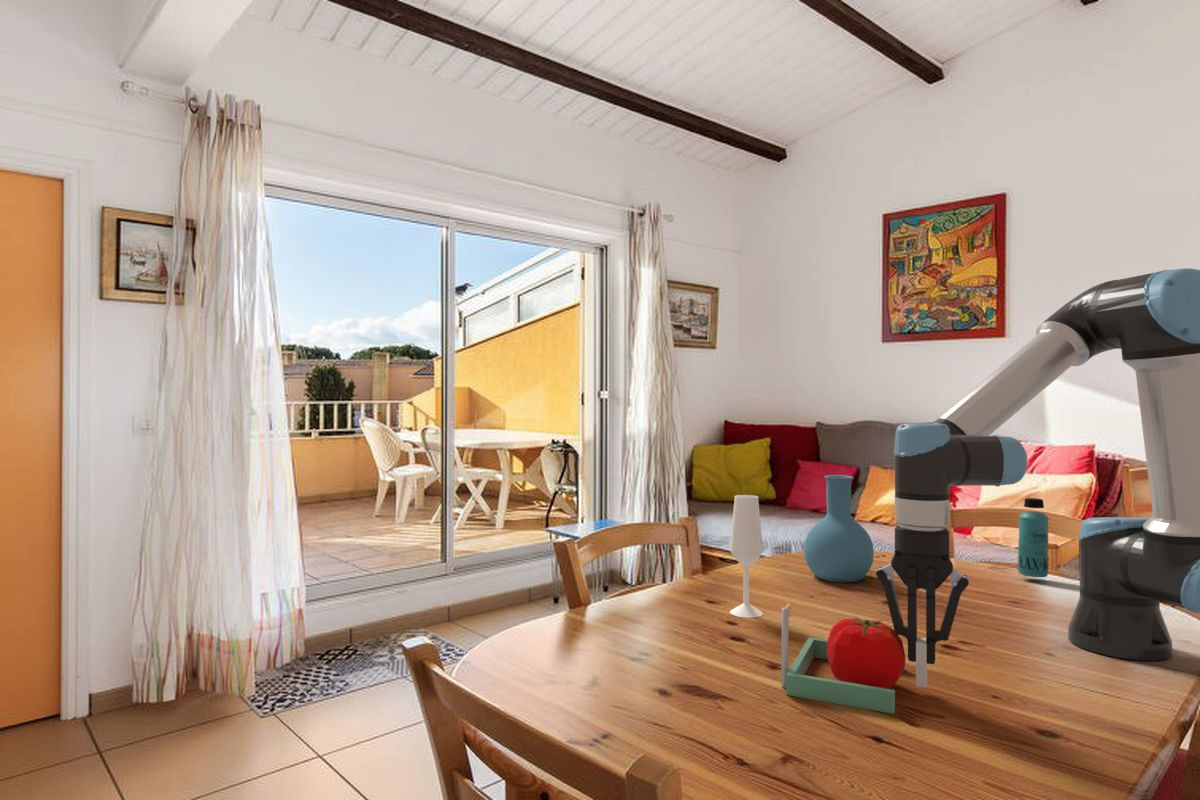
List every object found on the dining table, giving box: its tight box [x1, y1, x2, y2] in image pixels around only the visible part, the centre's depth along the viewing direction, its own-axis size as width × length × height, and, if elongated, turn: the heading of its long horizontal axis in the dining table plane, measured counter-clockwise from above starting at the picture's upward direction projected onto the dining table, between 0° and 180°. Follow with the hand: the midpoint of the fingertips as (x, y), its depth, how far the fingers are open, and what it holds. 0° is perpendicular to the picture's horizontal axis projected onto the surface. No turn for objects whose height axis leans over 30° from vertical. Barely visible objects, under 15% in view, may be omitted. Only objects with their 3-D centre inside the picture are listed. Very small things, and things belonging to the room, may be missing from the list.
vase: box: [803, 474, 875, 584], centre depth 180 cm, size 16×16×25 cm
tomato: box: [827, 616, 906, 689], centre depth 112 cm, size 12×12×10 cm
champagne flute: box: [729, 494, 764, 619], centre depth 150 cm, size 7×7×24 cm
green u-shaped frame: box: [781, 602, 896, 715], centre depth 114 cm, size 16×19×12 cm
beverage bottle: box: [1017, 497, 1050, 578], centre depth 177 cm, size 6×7×20 cm
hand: (921, 683), depth 109 cm, fingers closed
